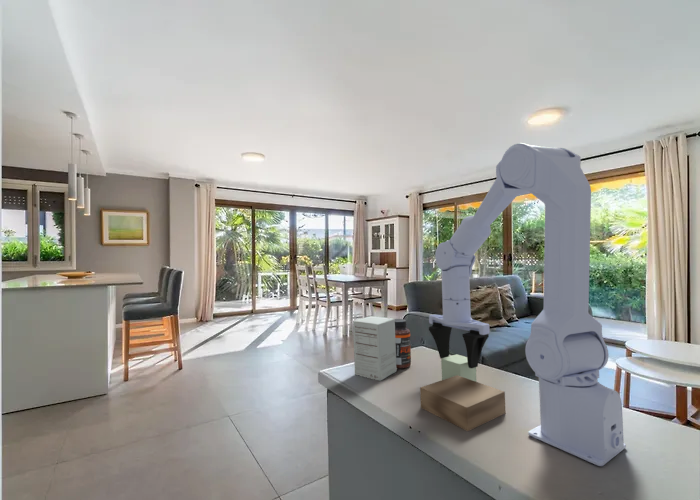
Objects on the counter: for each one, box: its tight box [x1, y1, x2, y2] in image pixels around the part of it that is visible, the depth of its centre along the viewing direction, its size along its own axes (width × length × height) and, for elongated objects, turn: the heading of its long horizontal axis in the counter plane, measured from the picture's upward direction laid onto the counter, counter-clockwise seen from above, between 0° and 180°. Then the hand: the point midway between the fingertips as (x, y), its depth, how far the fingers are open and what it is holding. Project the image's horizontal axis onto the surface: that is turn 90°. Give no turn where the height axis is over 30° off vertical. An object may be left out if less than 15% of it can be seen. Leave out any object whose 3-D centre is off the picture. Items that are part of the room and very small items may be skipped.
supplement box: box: [352, 315, 397, 382], centre depth 79 cm, size 7×7×13 cm
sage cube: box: [440, 353, 478, 382], centre depth 72 cm, size 5×5×5 cm
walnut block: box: [419, 375, 506, 432], centre depth 59 cm, size 10×10×4 cm
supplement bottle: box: [394, 318, 412, 369], centre depth 84 cm, size 6×6×11 cm
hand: (458, 362), depth 72 cm, fingers open, 7 cm apart
